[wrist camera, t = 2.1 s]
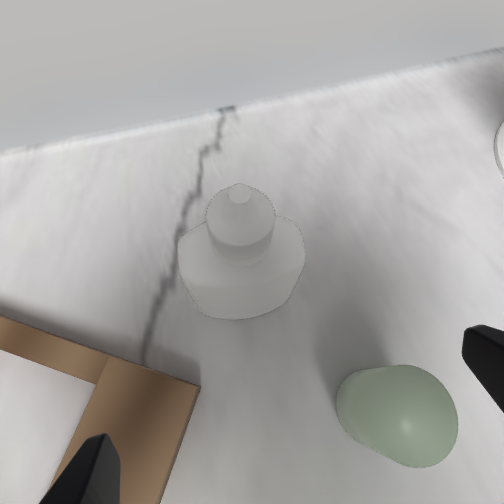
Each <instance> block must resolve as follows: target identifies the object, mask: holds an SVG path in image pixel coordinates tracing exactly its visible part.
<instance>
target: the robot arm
mask: <svg viewBox="0 0 504 504" xmlns="http://www.w3.org/2000/svg"><path fill="white" fill-rule="evenodd" d="M462 357H463V359H464V361H465V363H466V364H467V366H468V367H469V368H470V370H471V371H472V372H473V374H474V375H475V376H476V377H477V379H478V380H479V381H480V383H481V384H482V385H483V387H484V388H485V389H486V391H487V392H488V393H489V395H490V396H491V397H492V398H493V400H494V401H495V402H496V404H497V405H498V406H499V408H500V409H501V410H502V411H503V413H504V331H501V330H498V329H495V328H492V327H489V326H486V325H476V326H473V327H469V328H467V329H466V330H465V331H464V337H463V345H462ZM120 477H121V461H120V457H119V454H118V452H117V450H116V448H115V446H114V444H113V442H112V440H111V438H110V436H109V435H108V434H107V433H101V434H98V435H94V436H91V437H89V438H87V439H86V440H85V441H84V442H83V444H82V445H81V447H80V448H79V449H78V451H77V452H76V453H75V455H74V456H73V458H72V459H71V460H70V462H69V463H68V464H67V466H66V467H65V468H64V470H63V471H62V473H61V474H60V475H59V477H58V478H57V479H56V481H55V482H54V484H53V485H52V486H51V488H50V489H49V490H48V492H47V493H46V495H45V496H44V497H43V499H42V500H41V501H40V503H39V504H120Z"/></svg>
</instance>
